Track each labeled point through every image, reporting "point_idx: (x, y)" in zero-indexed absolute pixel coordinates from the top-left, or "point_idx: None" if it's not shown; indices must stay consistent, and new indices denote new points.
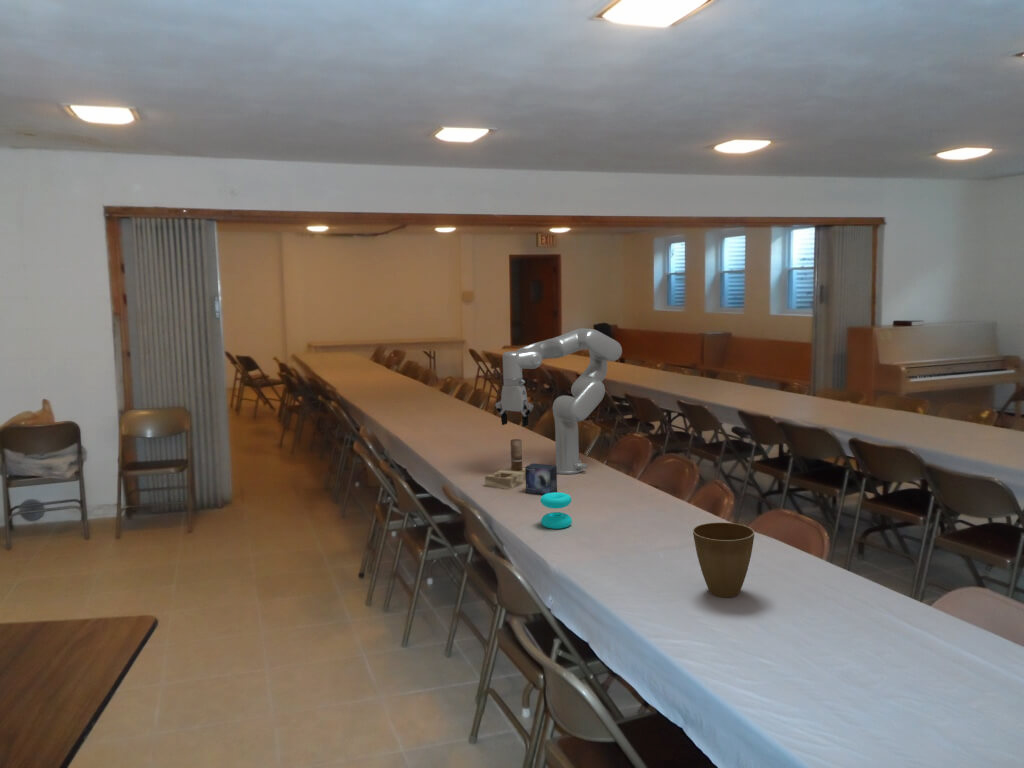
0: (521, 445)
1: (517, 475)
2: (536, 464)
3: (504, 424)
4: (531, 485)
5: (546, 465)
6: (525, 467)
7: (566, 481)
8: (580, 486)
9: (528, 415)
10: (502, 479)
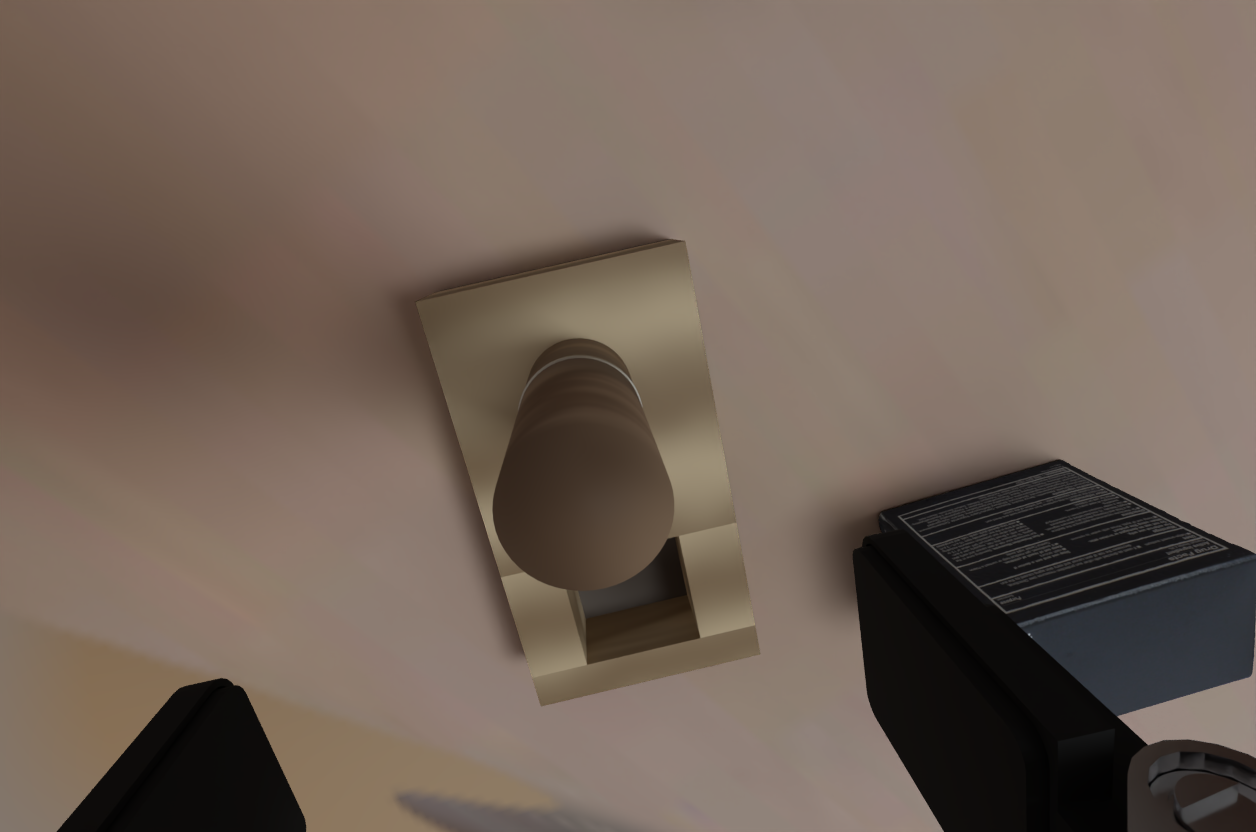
0: (653, 439)
1: (732, 534)
2: (1073, 647)
3: (293, 795)
4: None
5: (1178, 620)
6: None
7: (965, 164)
8: (1140, 226)
9: (1191, 754)
10: (698, 663)
